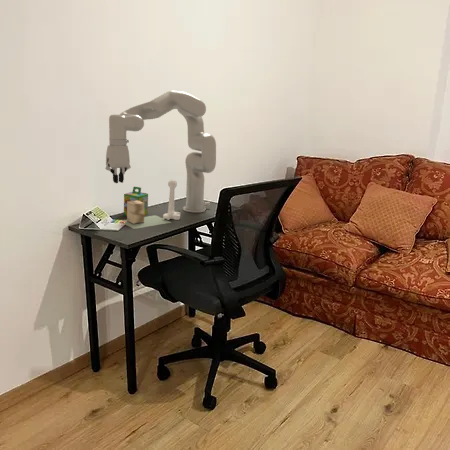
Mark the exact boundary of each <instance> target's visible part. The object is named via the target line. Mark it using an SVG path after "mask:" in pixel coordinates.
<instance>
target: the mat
mask: <svg viewBox="0 0 450 450" xmlns="http://www.w3.org/2000/svg"><path fill="white" fill-rule="evenodd" d="M122 221H125V223H124V225H126V226H127V227H129V228H131V229H133V230H135V229H141V228H142V229H143V228H147V227H153V226H159V225H164V224H172V222H171V221H169V220H167V219H165V220H163V217H161V216H158V215H154V214H153V215H149V216H147V215H146V216H144V223H140V224H134V225H133V224H131V223H129V222H127V219H123V220H122Z"/></svg>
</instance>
